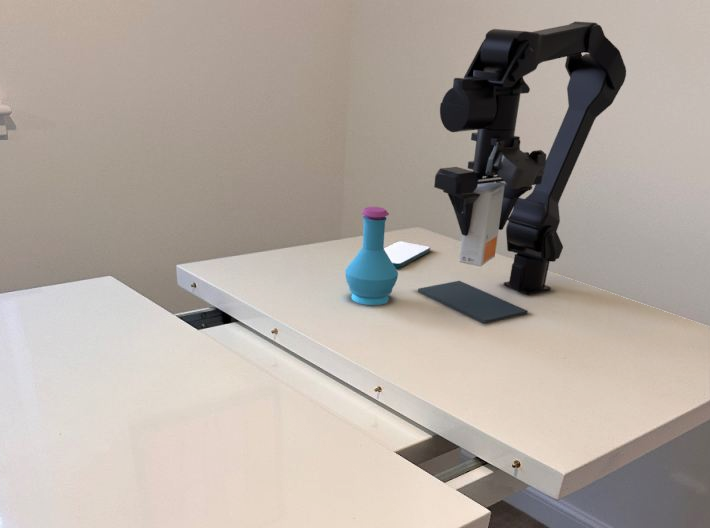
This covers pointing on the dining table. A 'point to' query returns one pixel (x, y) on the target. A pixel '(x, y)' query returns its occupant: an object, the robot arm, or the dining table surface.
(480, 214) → the cosmetic box
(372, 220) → the perfume bottle
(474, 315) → the side mat
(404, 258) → the smartphone
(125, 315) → the dining table surface
